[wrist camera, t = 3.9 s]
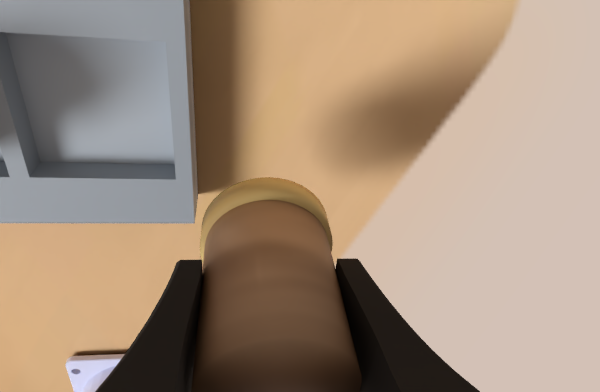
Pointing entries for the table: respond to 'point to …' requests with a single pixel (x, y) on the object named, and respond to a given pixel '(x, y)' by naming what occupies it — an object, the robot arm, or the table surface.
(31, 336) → the table surface
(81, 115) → the grey divided tray
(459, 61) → the table surface
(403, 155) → the table surface
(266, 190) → the sleeve
